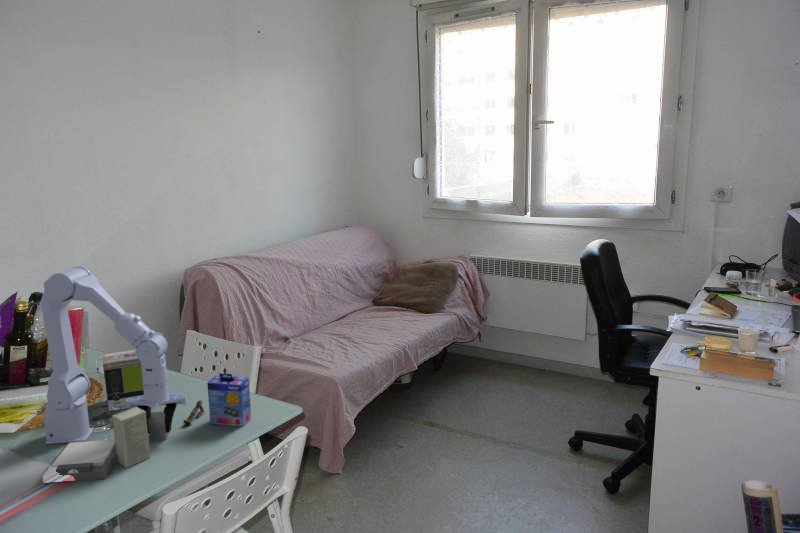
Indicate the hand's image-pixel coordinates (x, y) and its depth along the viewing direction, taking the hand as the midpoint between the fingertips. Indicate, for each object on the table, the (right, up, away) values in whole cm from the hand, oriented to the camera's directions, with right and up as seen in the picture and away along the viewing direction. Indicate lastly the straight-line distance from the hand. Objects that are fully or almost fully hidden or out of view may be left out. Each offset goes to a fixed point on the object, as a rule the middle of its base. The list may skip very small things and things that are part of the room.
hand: (159, 431), depth 152 cm
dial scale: (-12, -4, -14) cm, 18 cm away
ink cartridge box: (+16, 0, +9) cm, 18 cm away
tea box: (-16, +3, +22) cm, 27 cm away
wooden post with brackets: (+5, 0, +10) cm, 11 cm away
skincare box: (-2, -4, -11) cm, 12 cm away
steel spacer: (0, -1, 0) cm, 1 cm away
